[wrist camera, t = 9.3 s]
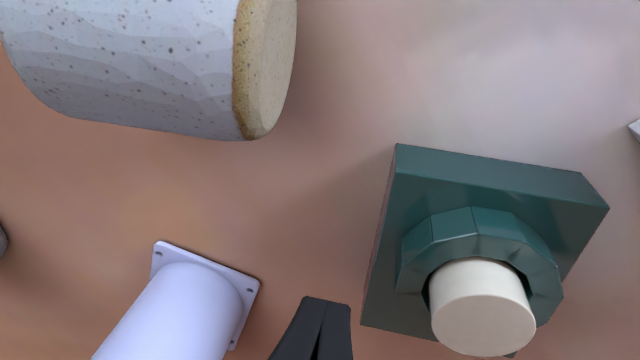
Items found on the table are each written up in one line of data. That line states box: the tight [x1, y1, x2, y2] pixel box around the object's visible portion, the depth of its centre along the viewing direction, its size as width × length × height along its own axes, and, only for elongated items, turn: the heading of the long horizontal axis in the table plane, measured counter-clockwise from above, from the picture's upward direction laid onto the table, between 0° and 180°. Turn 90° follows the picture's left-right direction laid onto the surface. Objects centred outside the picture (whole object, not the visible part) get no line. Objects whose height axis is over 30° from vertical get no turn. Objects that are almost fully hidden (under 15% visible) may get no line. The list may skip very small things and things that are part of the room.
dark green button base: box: [360, 143, 610, 358], centre depth 19 cm, size 11×9×5 cm
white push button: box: [428, 256, 536, 357], centre depth 16 cm, size 4×4×2 cm
